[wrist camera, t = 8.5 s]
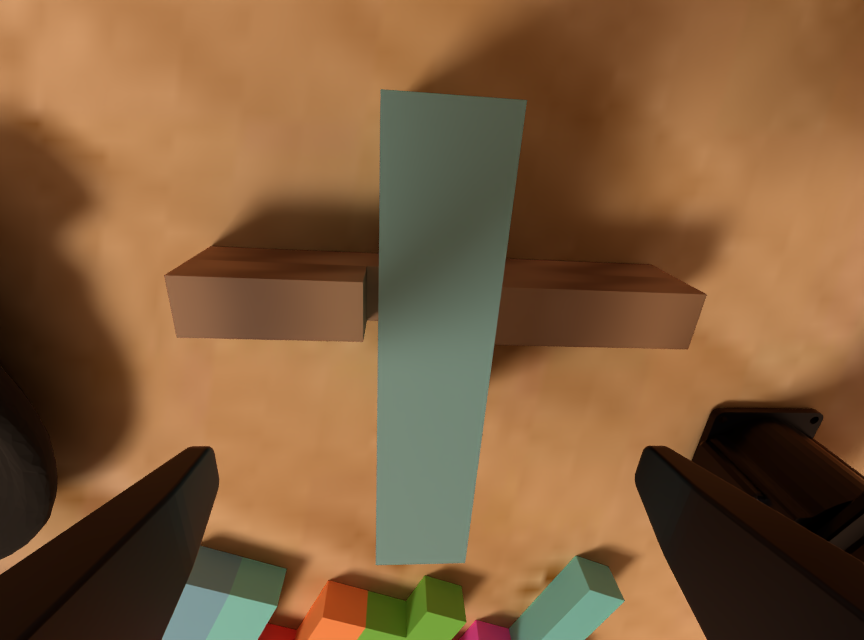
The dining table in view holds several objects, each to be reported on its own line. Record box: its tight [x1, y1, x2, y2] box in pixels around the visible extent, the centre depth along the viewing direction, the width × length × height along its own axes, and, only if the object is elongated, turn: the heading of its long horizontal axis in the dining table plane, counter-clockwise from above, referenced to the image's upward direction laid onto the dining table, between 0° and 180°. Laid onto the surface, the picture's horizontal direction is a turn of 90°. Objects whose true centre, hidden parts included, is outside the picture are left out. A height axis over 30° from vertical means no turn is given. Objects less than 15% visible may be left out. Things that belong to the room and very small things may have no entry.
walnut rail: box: [164, 246, 707, 349], centre depth 18 cm, size 20×2×4 cm, turn 86°
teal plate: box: [376, 89, 527, 565], centre depth 16 cm, size 14×3×9 cm, turn 177°
